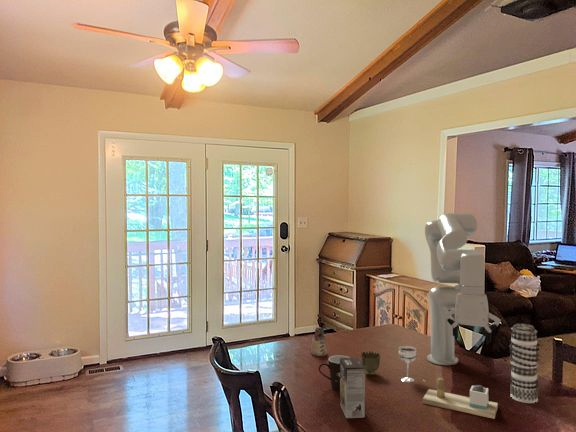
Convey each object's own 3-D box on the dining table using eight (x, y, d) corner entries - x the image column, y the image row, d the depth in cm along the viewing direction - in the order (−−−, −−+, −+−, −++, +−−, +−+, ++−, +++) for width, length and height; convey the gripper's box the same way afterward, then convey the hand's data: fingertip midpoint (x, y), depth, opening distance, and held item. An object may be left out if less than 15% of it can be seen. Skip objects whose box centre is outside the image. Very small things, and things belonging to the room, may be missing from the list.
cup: (380, 378, 169) (380, 357, 169) (360, 377, 170) (360, 356, 170) (380, 371, 176) (380, 351, 176) (361, 370, 178) (361, 350, 177)
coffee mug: (354, 383, 164) (354, 356, 164) (349, 392, 156) (349, 364, 156) (323, 379, 168) (323, 353, 168) (318, 388, 160) (317, 361, 160)
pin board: (429, 393, 155) (429, 372, 155) (497, 407, 144) (497, 384, 144) (422, 403, 148) (422, 380, 147) (494, 418, 136) (494, 394, 136)
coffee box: (339, 405, 146) (339, 357, 146) (358, 404, 147) (358, 356, 146) (345, 418, 137) (345, 367, 137) (365, 417, 138) (365, 366, 137)
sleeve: (471, 400, 146) (471, 385, 146) (488, 403, 143) (488, 388, 143) (469, 406, 142) (469, 390, 142) (486, 409, 139) (486, 394, 139)
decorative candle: (538, 406, 145) (539, 330, 144) (507, 399, 150) (507, 326, 149) (540, 395, 152) (540, 324, 152) (510, 390, 157) (510, 320, 157)
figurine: (329, 352, 200) (329, 326, 199) (322, 357, 194) (322, 330, 193) (315, 350, 203) (315, 324, 203) (308, 354, 197) (308, 327, 197)
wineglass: (404, 374, 172) (404, 344, 172) (420, 379, 168) (420, 348, 167) (395, 379, 168) (394, 348, 168) (411, 384, 163) (410, 352, 163)
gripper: (442, 289, 147) (442, 340, 148) (499, 295, 138) (499, 348, 139) (446, 285, 153) (446, 334, 154) (501, 290, 144) (501, 341, 145)
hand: (471, 341), depth 146 cm, fingers open, 9 cm apart
